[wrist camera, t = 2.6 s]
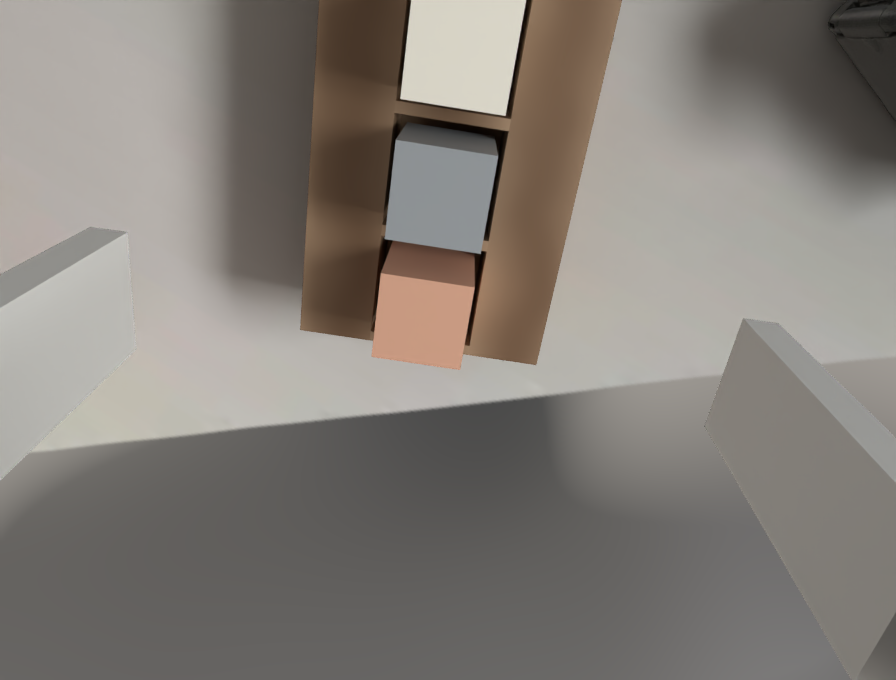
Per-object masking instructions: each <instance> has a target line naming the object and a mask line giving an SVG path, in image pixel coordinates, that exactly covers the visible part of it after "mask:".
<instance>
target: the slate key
mask: <svg viewBox="0 0 896 680" xmlns="http://www.w3.org/2000/svg"><path fill="white" fill-rule="evenodd" d="M497 160H498V152H497V147H496V142H495V137H494V136H490V135H484V134H477V133H471V132H465V131H459V130H452V129H446V128H440V127H434V126H428V125H421V124H415V123H409V122H407V124H406V125H405V127H404V128H403V130H402V131H401V133H400V134H399V136H398V137H397V139H396V142H395V151H394V160H393V169H392V178H391V187H390V196H389V205H388V214H387V223H386V232H385V239H387V240H393V241H400V242H406V243H413V244H419V245H426V246H432V247H439V248H445V249H452V250H458V251H465V252H471V253H478V254H481V250H482V244H483V239H484V233H485V227H486V222H487V216H488V211H489V205H490V200H491V194H492V188H493V183H494V177H495V172H496V166H497Z"/></svg>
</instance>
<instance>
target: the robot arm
mask: <svg viewBox="0 0 896 680" xmlns="http://www.w3.org/2000/svg"><path fill="white" fill-rule="evenodd" d="M135 350H136V337H135V324H134V311H133V298H132V284H131V271H130V258H129V245H128V232H123V231H116V230H109V229H102V228H94V227H90V228H88V229H86V230H84V231H82V232H80V233H78V234H76V235H74V236H72V237H70V238H69V239H67V240H65V241H63V242H61V243H59V244H57V245H55V246H53V247H51V248H50V249H48V250H46V251H44V252H42V253H40V254H38V255H36V256H34V257H32V258H30V259H29V260H27V261H25V262H23V263H21V264H19V265H17V266H15V267H13V268H11V269H10V270H8V271H6V272H4V273H2V274H0V480H1V479H2V478H3V477H4V476H5V475H6V474H7V473H8V472H9V471H10V470H11V469H13V468H14V467H15V466H16V465H17V464H18V463H19V462H20V461H21V460H22V459H23V458H24V457H25V456H26V455H27V454H28V453H29V452H30V451H31V450H32V449H33V448H34V447H35V446H36V445H38V444H39V443H40V442H41V441H42V440H43V439H44V438H45V437H46V436H47V435H48V434H49V433H50V432H51V431H52V430H53V429H54V428H55V427H56V426H57V425H58V424H59V423H60V422H61V421H63V420H64V419H65V418H66V417H67V416H68V415H69V414H70V413H71V412H72V411H73V410H74V409H75V408H76V407H77V406H78V405H79V404H80V403H81V402H82V401H83V400H84V399H85V398H86V397H87V396H89V395H90V394H91V393H92V392H93V391H94V390H95V389H96V388H97V387H98V386H99V385H100V384H101V383H102V382H103V381H104V380H105V379H106V378H107V377H108V376H109V375H110V374H111V373H112V372H114V371H115V370H116V369H117V368H118V367H119V366H120V365H121V364H122V363H123V362H124V361H125V360H126V359H127V358H128V357H129V356H130V355H131V354H132V353H133V352H134V351H135ZM704 427H705V428H706V430H707V432H708V433H709V435H710V437H711V438H712V440H713V442H714V444H715V445H716V447H717V449H718V451H719V452H720V454H721V456H722V458H723V459H724V461H725V463H726V464H727V466H728V468H729V470H730V471H731V473H732V475H733V476H734V478H735V480H736V482H737V483H738V485H739V487H740V488H741V490H742V492H743V494H744V496H745V497H746V499H747V501H748V502H749V504H750V506H751V507H752V509H753V511H754V513H755V515H756V516H757V518H758V520H759V521H760V523H761V525H762V526H763V528H764V530H765V532H766V533H767V535H768V537H769V539H770V540H771V542H772V544H773V546H774V547H775V549H776V551H777V552H778V554H779V556H780V558H781V559H782V561H783V563H784V565H785V566H786V568H787V570H788V571H789V573H790V575H791V577H792V578H793V580H794V582H795V584H796V585H797V587H798V589H799V590H800V592H801V594H802V596H803V597H804V599H805V601H806V603H807V604H808V606H809V607H810V609H811V611H812V613H813V614H814V616H815V618H816V620H817V621H818V623H819V625H820V627H821V628H822V630H823V632H824V633H825V635H826V637H827V639H828V641H829V642H830V644H831V646H832V647H833V649H834V651H835V653H836V654H837V656H838V658H839V659H840V661H841V663H842V665H843V666H844V668H845V670H846V671H847V673H848V675H849V677H850V678H851V680H896V437H895V436H894V435H892V433H890V432H889V431H888V430H887V429H886V428H885V427H884V426H883V425H882V424H881V423H880V422H879V421H878V420H877V419H876V418H875V417H874V416H873V415H872V414H871V413H870V412H869V411H868V410H867V409H866V408H865V407H864V406H863V405H862V404H861V403H860V402H859V401H857V399H855V398H854V397H853V396H852V395H851V394H850V393H849V392H848V391H847V390H846V389H845V388H844V387H843V386H842V385H841V384H840V383H839V382H838V381H837V380H836V379H835V378H834V377H833V376H832V375H831V374H830V373H829V372H828V371H827V370H826V369H824V367H822V365H821V364H819V363H818V362H817V361H816V360H815V359H814V358H813V357H812V356H811V355H810V354H809V353H808V352H807V351H806V350H805V349H804V348H803V347H802V346H801V345H800V344H799V343H798V342H797V341H796V340H795V339H794V338H793V337H792V336H791V335H790V334H789V333H788V332H787V331H786V330H785V329H783V328H782V327H781V326H780V325H779V324H778V323H772V322H765V321H758V320H751V319H744V318H743V320H742V323H741V326H740V329H739V331H738V334H737V337H736V340H735V343H734V345H733V348H732V351H731V354H730V356H729V359H728V362H727V365H726V367H725V370H724V373H723V376H722V379H721V381H720V384H719V387H718V390H717V392H716V396H715V398H714V401H713V404H712V406H711V409H710V412H709V415H708V417H707V420H706V423H705V426H704Z"/></svg>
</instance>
